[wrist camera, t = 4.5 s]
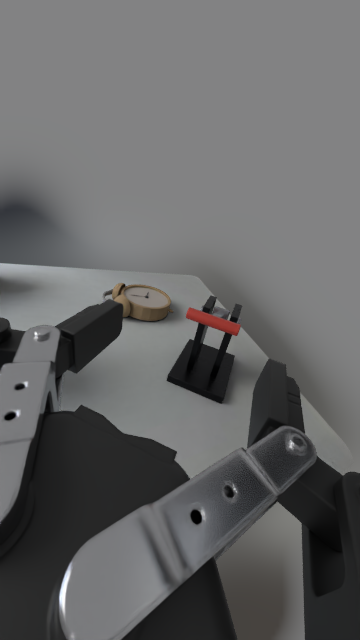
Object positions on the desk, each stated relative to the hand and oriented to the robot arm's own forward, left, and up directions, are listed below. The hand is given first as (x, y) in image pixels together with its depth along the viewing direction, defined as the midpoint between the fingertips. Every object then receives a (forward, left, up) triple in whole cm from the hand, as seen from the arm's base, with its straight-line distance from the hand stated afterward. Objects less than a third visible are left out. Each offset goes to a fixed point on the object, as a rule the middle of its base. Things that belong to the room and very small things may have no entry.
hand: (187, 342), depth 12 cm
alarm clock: (+33, -18, -20) cm, 42 cm away
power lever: (+8, -14, -8) cm, 18 cm away
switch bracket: (+11, -18, -20) cm, 29 cm away
